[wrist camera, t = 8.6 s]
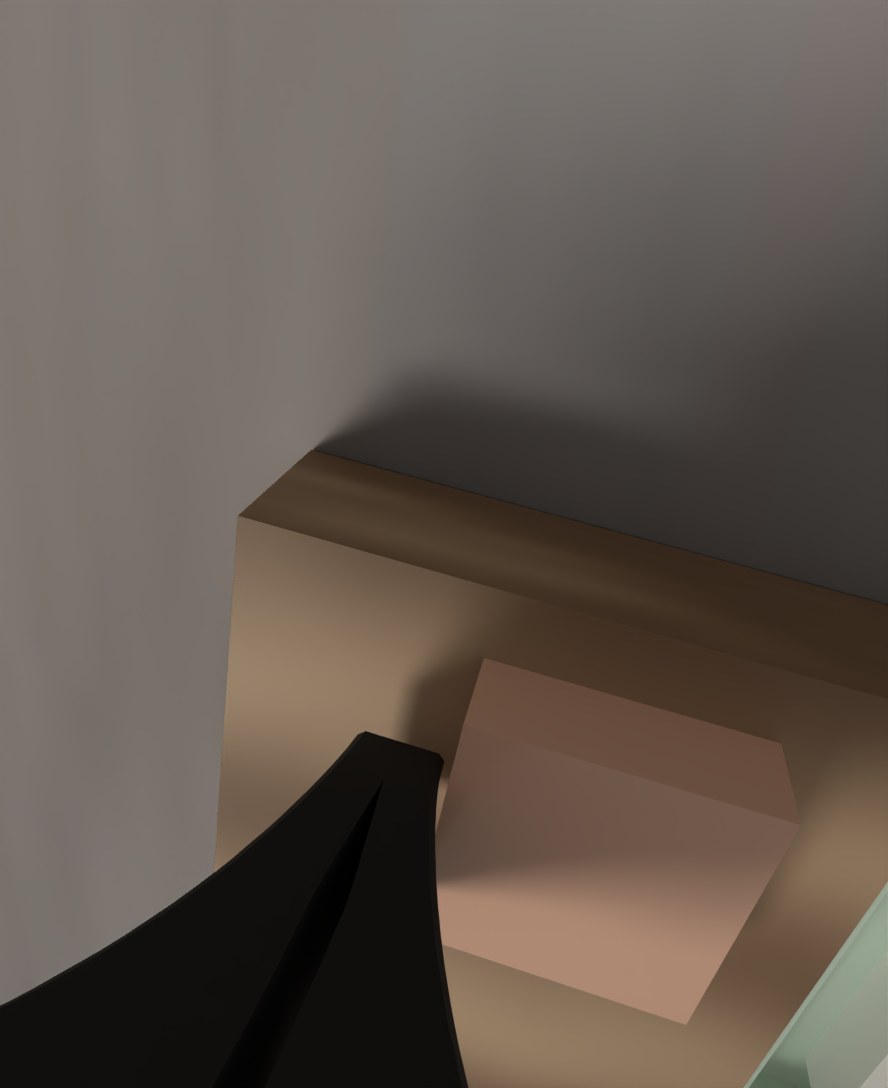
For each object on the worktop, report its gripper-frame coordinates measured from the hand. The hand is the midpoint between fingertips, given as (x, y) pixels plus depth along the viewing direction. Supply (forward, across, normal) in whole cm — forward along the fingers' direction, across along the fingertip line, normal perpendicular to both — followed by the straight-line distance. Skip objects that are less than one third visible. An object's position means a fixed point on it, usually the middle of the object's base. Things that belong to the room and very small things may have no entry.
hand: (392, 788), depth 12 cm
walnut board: (+4, -2, +3) cm, 5 cm away
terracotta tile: (+1, -3, 0) cm, 3 cm away
